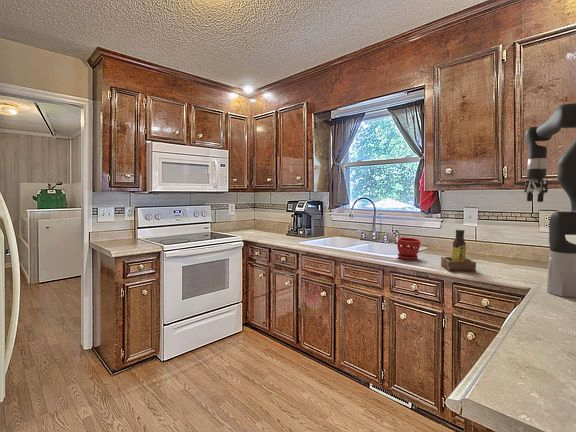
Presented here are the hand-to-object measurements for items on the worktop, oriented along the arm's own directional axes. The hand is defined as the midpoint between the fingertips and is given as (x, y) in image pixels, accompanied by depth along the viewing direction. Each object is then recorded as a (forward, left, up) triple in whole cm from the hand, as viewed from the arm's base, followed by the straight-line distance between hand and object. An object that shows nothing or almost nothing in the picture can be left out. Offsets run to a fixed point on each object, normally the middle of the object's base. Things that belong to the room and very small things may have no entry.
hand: (534, 201), depth 159 cm
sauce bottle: (+6, +32, -35) cm, 48 cm away
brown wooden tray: (+6, +32, -36) cm, 49 cm away
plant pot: (+30, +52, -36) cm, 70 cm away
